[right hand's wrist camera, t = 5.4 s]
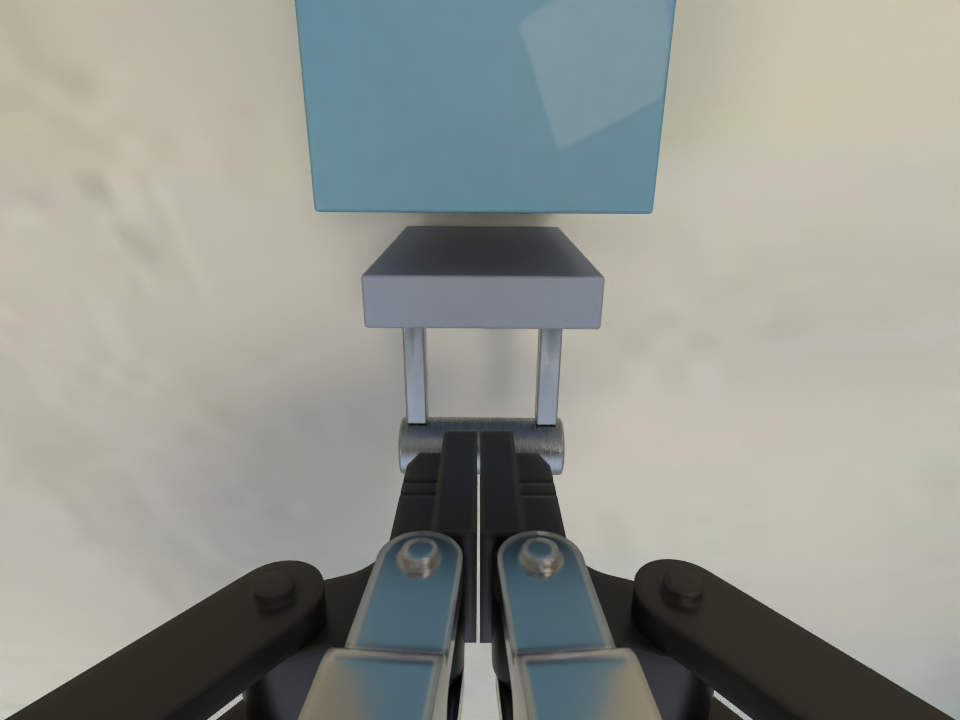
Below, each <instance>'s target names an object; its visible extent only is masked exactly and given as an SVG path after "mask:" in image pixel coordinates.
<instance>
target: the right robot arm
mask: <svg viewBox="0 0 960 720" xmlns="http://www.w3.org/2000/svg"><path fill="white" fill-rule="evenodd" d="M476 613H477V430H444V435H443V443H442V451H441V453H419V454H418V455H417V456H416V457H415V458H414V459H413V460H412V461H411V462H410V463H409V464H408V465H407V467H406V472H405V476H404V483H403V485H402V489H401V495H400V498H399V502H398V506H397V511H396V515H395V519H394V524H393V528H392V532H391V536H390V541H389V542H387V543H386V544H385V545H384V546H383V547H382V549H381V550H380V551H379V553H378V555H377V558H376V561H375V562H374V563H372V564H371V565H369V566H368V567H366V568H364V569H362V570H360V571H357V572H355V573H351V574H348V575H344V576H340V577H336V578H332V579H327V580H323V577H322V575H321V573H320V572H319V570H317V569H316V568H315V567H314V566H312V565H310V564H308V563H305V562H301V561H290V560H288V561H279V562H274V563H270V564H267V565H264V566H261V567H259V568H257V569H255V570H253V571H251V572H249V573H247V574H246V575H244V576H243V577H241V578H239V579H238V580H236V581H234V582H233V583H231V584H229V585H228V586H226V587H224V588H223V589H221V590H219V591H218V592H216V593H214V594H213V595H211V596H209V597H208V598H206V599H204V600H203V601H201V602H199V603H198V604H196V605H194V606H193V607H191V608H189V609H188V610H186V611H184V612H183V613H181V614H179V615H178V616H176V617H174V618H173V619H171V620H169V621H168V622H166V623H164V624H163V625H161V626H159V627H158V628H156V629H154V630H153V631H151V632H150V633H148V634H146V635H145V636H143V637H141V638H140V639H138V640H136V641H135V642H133V643H131V644H130V645H128V646H126V647H125V648H123V649H121V650H120V651H118V652H116V653H115V654H113V655H111V656H110V657H108V658H106V659H105V660H103V661H101V662H100V663H98V664H96V665H95V666H93V667H91V668H90V669H88V670H86V671H85V672H83V673H81V674H80V675H78V676H76V677H75V678H73V679H71V680H70V681H68V682H66V683H65V684H63V685H61V686H60V687H58V688H56V689H55V690H53V691H52V692H50V693H48V694H47V695H45V696H43V697H42V698H40V699H38V700H37V701H35V702H33V703H32V704H30V705H28V706H27V707H25V708H23V709H22V710H20V711H18V712H17V713H15V714H13V715H12V716H10V717H8V718H7V719H5V720H207V719H208V718H210V717H211V716H212V715H214V714H215V713H216V712H217V711H219V710H220V709H221V708H223V707H224V706H225V705H227V704H228V703H229V702H231V701H232V700H233V699H234V698H236V697H237V696H238V695H240V694H241V693H242V695H243V699H242V700H241V701H240V702H238V703H237V704H236V705H235V706H233V707H232V708H231V709H229V710H228V711H227V712H226V713H224V714H223V715H222V716H220V717H219V718H218V719H217V720H460V719H461V711H462V702H463V693H464V645H465V643H476ZM480 643H492V664H493V669H494V672H495V674H496V693H497V702H498V711H499V719H500V720H743V719H742V718H741V717H740V716H738V715H737V714H736V713H734V712H733V711H732V710H731V709H729V708H728V707H727V706H725V705H724V704H723V703H722V702H720V701H719V700H718V699H716V698H715V697H714V696H713V694H714V690H715V691H716V692H718V693H719V694H720V695H722V696H723V697H724V698H726V699H727V700H728V701H729V702H731V703H732V704H733V705H735V706H736V707H737V708H739V709H740V710H741V711H743V712H744V713H745V714H746V715H748V716H749V717H750V718H752V719H753V720H955V719H953V718H952V717H950V716H948V715H947V714H945V713H943V712H942V711H940V710H938V709H937V708H935V707H933V706H932V705H930V704H928V703H927V702H925V701H923V700H922V699H920V698H918V697H917V696H915V695H913V694H912V693H910V692H908V691H907V690H905V689H903V688H902V687H900V686H899V685H897V684H895V683H894V682H892V681H890V680H889V679H887V678H885V677H884V676H882V675H880V674H879V673H877V672H875V671H874V670H872V669H870V668H869V667H867V666H865V665H864V664H862V663H860V662H859V661H857V660H855V659H854V658H852V657H850V656H849V655H847V654H845V653H844V652H842V651H840V650H839V649H837V648H835V647H834V646H832V645H830V644H829V643H827V642H825V641H824V640H822V639H820V638H819V637H817V636H815V635H814V634H812V633H810V632H809V631H807V630H805V629H804V628H802V627H801V626H799V625H797V624H796V623H794V622H792V621H791V620H789V619H787V618H786V617H784V616H782V615H781V614H779V613H777V612H776V611H774V610H772V609H771V608H769V607H767V606H766V605H764V604H762V603H761V602H759V601H757V600H756V599H754V598H752V597H751V596H749V595H747V594H746V593H744V592H742V591H741V590H739V589H737V588H736V587H734V586H732V585H731V584H729V583H727V582H726V581H724V580H722V579H721V578H719V577H717V576H716V575H714V574H712V573H711V572H709V571H707V570H706V569H704V568H702V567H700V566H697V565H695V564H692V563H689V562H686V561H681V560H673V559H662V560H656V561H652V562H649V563H647V564H645V565H644V566H642V567H641V568H640V569H639V570H638V572H637V573H636V576H635V579H634V581H632V580H628V579H623V578H619V577H615V576H611V575H607V574H604V573H601V572H598V571H596V570H594V569H592V568H590V567H588V566H586V564H585V561H584V558H583V555H582V553H581V551H580V550H579V549H578V547H577V546H576V545H575V544H574V543H573V542H571V541H570V540H568V539H567V538H566V535H565V531H564V526H563V522H562V517H561V513H560V508H559V504H558V499H557V496H556V490H555V486H554V483H553V477H552V472H551V468H550V465H549V464H548V463H547V462H546V461H545V460H544V459H543V458H542V457H541V456H540V455H539V454H538V453H516V452H515V443H514V435H513V430H480Z"/></svg>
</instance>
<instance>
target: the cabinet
mask: <svg viewBox="0 0 960 720" xmlns="http://www.w3.org/2000/svg"><path fill="white" fill-rule="evenodd" d="M675 4H676V0H295V7H296V17H297V28H298V38H299V48H300V59H301V69H302V80H303V90H304V101H305V111H306V122H307V132H308V143H309V153H310V163H311V174H312V184H313V195H314V205H315V210H316V211H318V212H439V213H599V214H649V213H651V212H652V210H653V202H654V193H655V184H656V175H657V166H658V157H659V148H660V139H661V130H662V121H663V112H664V103H665V94H666V85H667V76H668V67H669V58H670V49H671V40H672V31H673V22H674V13H675Z"/></svg>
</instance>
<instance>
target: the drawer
mask: <svg viewBox="0 0 960 720" xmlns="http://www.w3.org/2000/svg"><path fill="white" fill-rule="evenodd" d="M603 291H604V277H603V276H602V275H601V273H600V272H599V271H598V270H597V269H596V268H595V267H594V266H593V265H592V264H591V263H590V261H589V260H588V259H587V258H586V257H585V256H584V255H583V254H582V253H581V252H580V251H579V249H578V248H577V247H576V246H575V245H574V244H573V243H572V242H571V241H570V240H569V239H568V237H567V236H566V235H565V234H564V233H563V232H562V231H561V230H560V229H559V228H558V227H431V226H408V227H407V228H406V229H405V230H404V231H403V232H402V233H401V234H400V235H399V236H398V237H397V238H396V239H395V241H394V242H393V243H392V244H391V245H390V246H389V247H388V248H387V249H386V250H385V251H384V252H383V254H382V255H381V256H380V257H379V258H378V259H377V260H376V261H375V262H374V263H373V264H372V265H371V267H370V268H369V269H368V270H367V271H366V272H365V273H364V274H363V275H362V292H363V306H364V321H365V326H366V327H368V328H402V329H403V351H404V373H405V395H406V417H404V418H403V419H402V421H401V425H400V432H399V466H400V470H401V473H403V474H405V472H406V467H407V465H408V464H409V463H410V462H411V461H412V460H413V459H414V458H415V457H416V456H417V455H418V454H419V453H441V451H442V443H443V435H444V430H477V474H480V430H513V435H514V443H515V452H516V453H538V454H539V455H540V456H541V457H542V458H543V459H544V460H545V461H546V462H547V463H548V464H549V465H550V468H551V472H552V475H560V474H561V473H562V471H563V466H564V431H563V425H562V421H561V419H559V418H557V410H558V394H559V377H560V360H561V344H562V329H599V328H600V326H601V315H602V303H603ZM426 328H512V329H539V332H538V354H537V377H536V399H535V418H471V417H428V415H429V414H428V380H427V347H426Z"/></svg>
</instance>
